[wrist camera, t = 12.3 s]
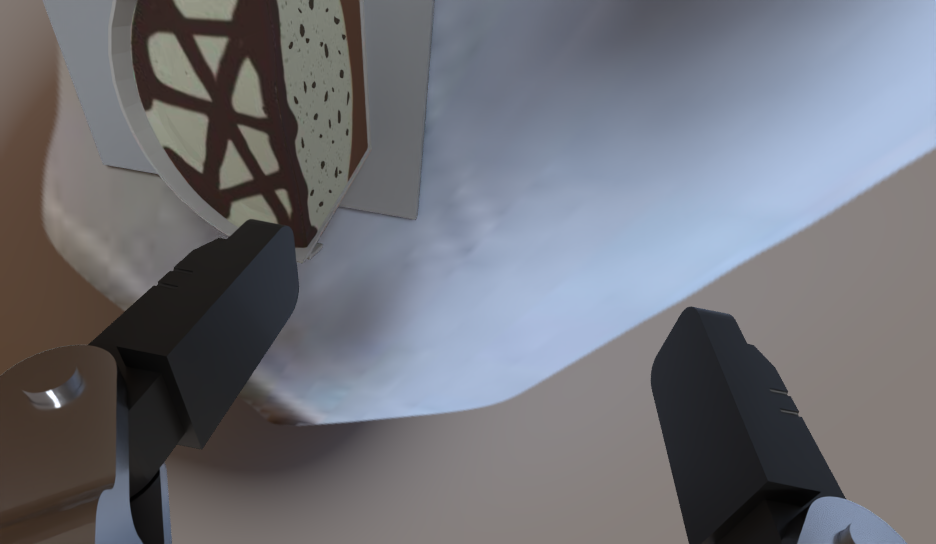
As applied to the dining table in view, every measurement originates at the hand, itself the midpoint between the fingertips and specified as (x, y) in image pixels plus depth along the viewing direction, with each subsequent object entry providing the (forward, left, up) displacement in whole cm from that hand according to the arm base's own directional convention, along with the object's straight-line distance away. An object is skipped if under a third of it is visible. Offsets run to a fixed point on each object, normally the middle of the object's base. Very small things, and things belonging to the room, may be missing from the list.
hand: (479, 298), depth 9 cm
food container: (+11, 0, -17) cm, 20 cm away
